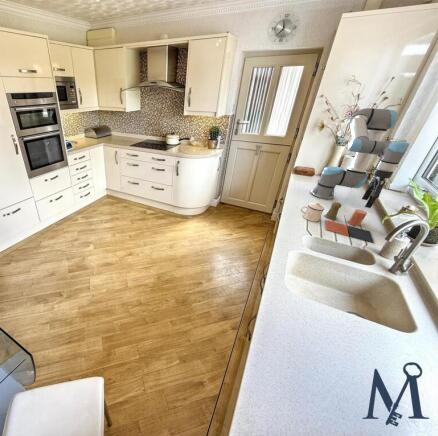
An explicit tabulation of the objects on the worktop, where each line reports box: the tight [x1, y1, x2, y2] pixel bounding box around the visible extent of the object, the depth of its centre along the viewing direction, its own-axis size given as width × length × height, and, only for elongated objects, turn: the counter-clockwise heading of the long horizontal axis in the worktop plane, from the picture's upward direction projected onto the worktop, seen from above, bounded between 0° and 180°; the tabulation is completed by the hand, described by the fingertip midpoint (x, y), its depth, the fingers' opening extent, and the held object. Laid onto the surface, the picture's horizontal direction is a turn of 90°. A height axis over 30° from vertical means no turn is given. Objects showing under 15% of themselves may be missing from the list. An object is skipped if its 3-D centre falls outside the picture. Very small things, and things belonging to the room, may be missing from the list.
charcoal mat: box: [347, 225, 374, 244], centre depth 139 cm, size 14×11×1 cm
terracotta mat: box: [325, 219, 350, 237], centre depth 145 cm, size 14×11×1 cm
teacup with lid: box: [300, 201, 325, 223], centre depth 152 cm, size 12×9×12 cm
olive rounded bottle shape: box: [324, 201, 342, 221], centre depth 154 cm, size 6×6×11 cm
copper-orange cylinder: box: [348, 208, 368, 227], centre depth 148 cm, size 6×6×9 cm
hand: (365, 203), depth 143 cm, fingers open, 13 cm apart
